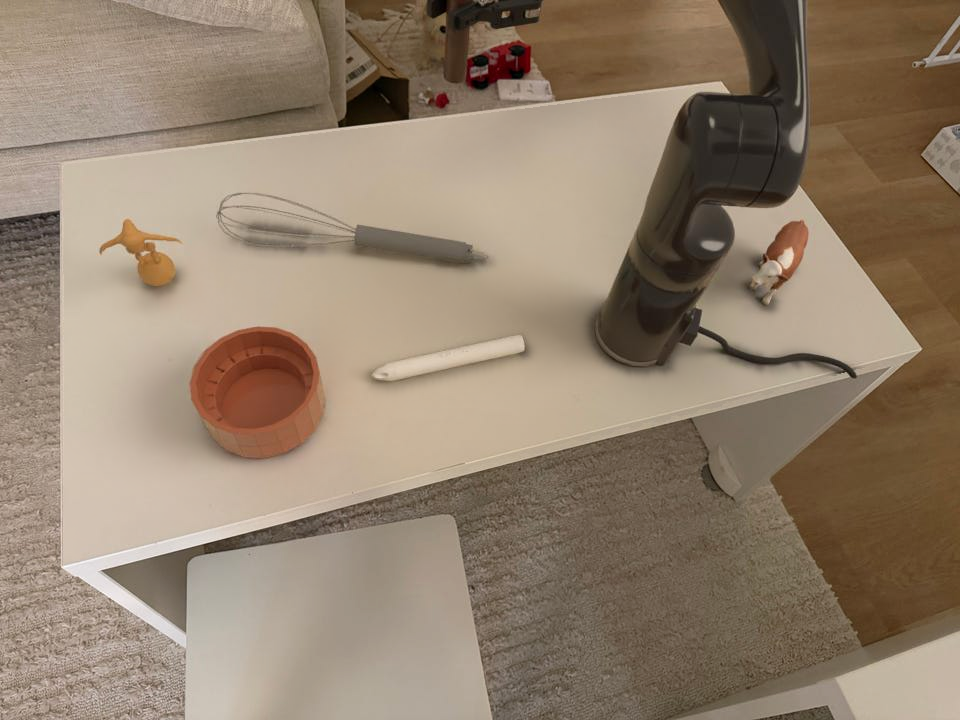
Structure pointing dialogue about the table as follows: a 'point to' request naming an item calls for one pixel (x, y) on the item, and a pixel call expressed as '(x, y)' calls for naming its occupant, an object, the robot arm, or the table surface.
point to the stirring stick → (455, 48)
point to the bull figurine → (781, 258)
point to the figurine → (151, 265)
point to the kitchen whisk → (372, 237)
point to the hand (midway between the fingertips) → (440, 16)
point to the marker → (449, 358)
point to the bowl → (258, 391)
